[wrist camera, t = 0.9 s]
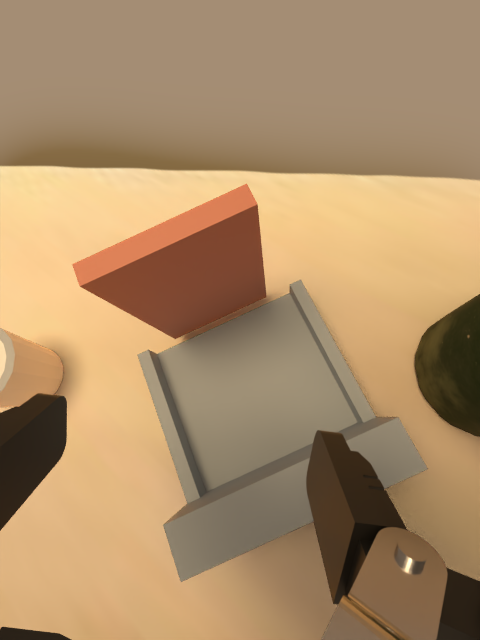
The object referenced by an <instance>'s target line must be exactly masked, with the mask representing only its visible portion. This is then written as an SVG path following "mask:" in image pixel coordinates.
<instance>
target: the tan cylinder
mask: <svg viewBox="0 0 480 640" xmlns="http://www.w3.org/2000/svg"><path fill="white" fill-rule="evenodd" d="M62 379H63V365H62V362H61V359H60V357H59V356H58V355H57V354H56V353H55V352H54V351H52V350H49V349H47V348H45V347H43V346H40V345H38V344H36V343H33V342H31V341H29V340H26V339H24V338H22V337H20V336H17V335H15V334H13V333H10V332H8V331H6V330H3V329H1V328H0V408H1V407H14V406H21V405H22V404H23V403H25V402H26V401H27V400H29V399H30V398H31V397H33V396H34V395H36V394H38V393H43V394H51V395H54V394H55V393H56V392H57V390H58V388H59V386H60V384H61V382H62Z"/></svg>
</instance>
